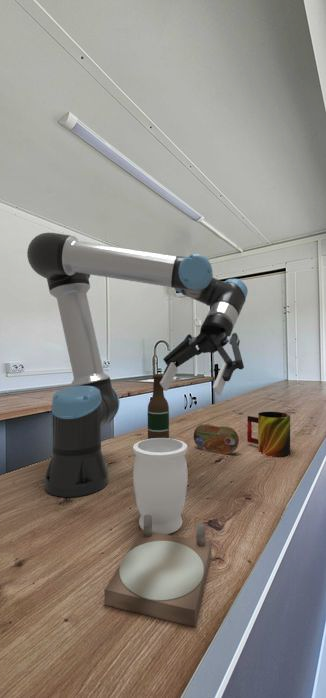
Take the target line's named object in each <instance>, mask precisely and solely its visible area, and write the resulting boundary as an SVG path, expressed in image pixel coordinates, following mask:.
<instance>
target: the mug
mask: <svg viewBox="0 0 326 698" xmlns="http://www.w3.org/2000/svg"><path fill="white" fill-rule="evenodd" d="M246 419H247V421H246V422H247V433H246V435H247V436H246V437H247V439H246V441H247V443H250V444H254V445H258V450H257V451H258V453H259V452H261V453H262V454H261V453H260V454H261V455H263V454H265V455H264V456H266V455H267V456H266V457H270V456H272V457H271V458H286V456H287V457H289V456H291V415H290V414H288V413H286V412H282V411H281V412H280V411H261V412H258V414H257V416H251V415H247V417H246ZM252 423H256V424H257V427H258V428H257V429H258V431H257V433H258V434H257V437H258V438H255V437H252V427H253V426H252ZM288 455H289V456H288Z"/></svg>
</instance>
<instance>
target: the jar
mask: <svg viewBox="0 0 326 698" xmlns="http://www.w3.org/2000/svg"><path fill="white" fill-rule="evenodd" d="M132 450H133V453H134V455H135V458H134V463H133V469H132V470H133V473H132V479H133V483H132V484H133V490H134V493H135V502H136V506H137V510H138V513H139V514H140V517H139V519H138V524H139V527H140V528H141V530H143V531H144V516H145V515H151V516H152V532H155V533H161V534H167V535H171V534H172V533H175V532H176V531H178V530H180V528H181V527H182V526H183V518H182V515H181V514H182V513H183V510H184V506H185V501H186V494H187V491H188V490H187V489H188V479H189V477H188V475H189V474H188V465H187V463H188V462H187V458H186V453H187V451H188V444H187V443H186V442H185V441H182V440H179V439H176V438H170V437H169V438H152V439H148V438H147V439H143V440H140V441H137V442H135V443H134V444H133V447H132Z"/></svg>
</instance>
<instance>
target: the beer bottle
mask: <svg viewBox="0 0 326 698" xmlns="http://www.w3.org/2000/svg"><path fill="white" fill-rule="evenodd" d="M163 376H164V374H162V373H161V374H160V373H157V374H156V373H155V374H153V375H152V378H153V386H152V387H153V388H152V397H151V399H150V400H149V402H148V405H147V439H152V438H170V409H169V408H170V406H169V403H168V399H166V397H165V394H164V389H163V387H162V386H161V384H160V382H161V380H162V378H163Z"/></svg>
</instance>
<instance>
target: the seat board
mask: <svg viewBox="0 0 326 698" xmlns="http://www.w3.org/2000/svg"><path fill="white" fill-rule="evenodd" d="M195 529H196V538H191V537H185V536H178V535H172V534H161V533H155V532H152V516H151V515H145V516H144V530H143V529H141V530H140V532H139V533H138V535H137V537H136V538H135V540H134V542H133V543H132V545H131V547H130V548H129V549H128V551H127V552H126V554H125V555H124V557H123V558H122V559H121V562H120V563H119V566H118V567H117V569H116V570H115V571H114V574H113V575H112V577H111V578H110V580H109V581H108V584H107V585H106V586H105V588H104V589H103V590H104V596H103V597H104V605H105V606H108V607H111V606H113V608H116V609H120V610H123V611H124V610H125V611H130V612H132V613H137V614H141V615H144V616H150V617H153V618H157V619H161V620H165V621H170V622H172V623H173V622H175V623H178V624H182V625H185V626H190V627H194V628H195V627H196V626H197V621H198V617H199V613H200V607H201V603H202V598H203V593H204V589H205V586H206V580H207V575H208V571H209V568H210V566H209V565H210V560H211V558H212V541H210V540H206V524H205V523H203V522H198V523H196V528H195Z"/></svg>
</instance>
